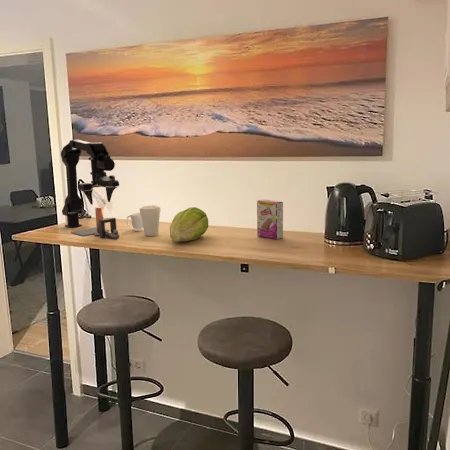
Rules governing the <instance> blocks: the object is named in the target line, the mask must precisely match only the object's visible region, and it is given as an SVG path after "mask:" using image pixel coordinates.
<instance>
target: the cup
mask: <svg viewBox="0 0 450 450" xmlns="http://www.w3.org/2000/svg"><path fill="white" fill-rule="evenodd" d="M129 218H130V220H131V225H132V226H131V225H130V224H129ZM126 224H127V227H129V229H131V230H132V231H134V232H141V231H144V229H143V224H142V219H141V213H140V212H133V213H131V214H129V215H127V217H126Z"/></svg>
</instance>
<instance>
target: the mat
mask: <svg viewBox="0 0 450 450" xmlns="http://www.w3.org/2000/svg"><path fill="white" fill-rule="evenodd" d="M105 231H108V232H110V230H109V229H105ZM94 232H97V226H96V227H90V228H86V229H85V228H83V229H79V230H75V231H74V230H73V231H70V234H74V235H78V236H81V237H86V236H91V235H94Z"/></svg>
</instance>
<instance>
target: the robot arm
mask: <svg viewBox="0 0 450 450" xmlns="http://www.w3.org/2000/svg"><path fill="white" fill-rule="evenodd" d="M82 151H83V152H86V154H88V155H89V157H88V161H90V167H91V172H89V174H90V175H91V179H92V180H90V183H89V182H82V183H81V182H80V183H79V182H78V178H77V177H78V176H77V175H78V174H77V166H78V163H79V161H80V156H81V154H82ZM60 157H61V161H62V164H63V165H64V166H65V173H66V188H67V195H66V196H65V199H64V205H63V208H62V210H61V213H62V216H66V223H67V224H64V226H65V227H66V228H74V227H76V228H77V227H81V226H83V224H81V223H80V219H79V218H80V217H79V215H81V214H83V207H84V204H83V199H82V198H81V197H80V196H79V194H78V193H79V192H78V191H79V190H80V191H81V192H83V193H84V195H85V197H86V199H87V200H88V202H89V204H90V206H91V205H93V201H94V200H93V191H94V190H93V188H100V187H101V188H105V193H106V198H107V199H106V200H107V202H108V203H110V202H111V199H112V196H113V193H114V191H115V190H116V189H117V188H118V187H120V182H119V180H116V176H115V175H109V176H108V175H107V172H111V171H113V170H114V169H115V166H116V163H115V161H114V159H113V158H111V155H110V153H109V152H108V150H107V147H106V146H105V144H104V143H103V142H90V141H84V140H82V139H71V140H69V142H68V143H67V144H66V145H64V146H63V147H62V150H61V151H60Z"/></svg>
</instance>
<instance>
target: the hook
mask: <svg viewBox="0 0 450 450" xmlns="http://www.w3.org/2000/svg"><path fill="white" fill-rule="evenodd" d="M94 211H95V224H96V227H97V232H94V234H93V235H94V237H100V234H99V221H98V220H101V219H104V209H103V206H102V207H101V206H98V207H95V208H94ZM113 232H114V233H112V232H111V231H105V235H106V237H107V238H111V239H115V240H118V239H119V238H120V235H119V229H117V228H116V229H115V230H113Z"/></svg>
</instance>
